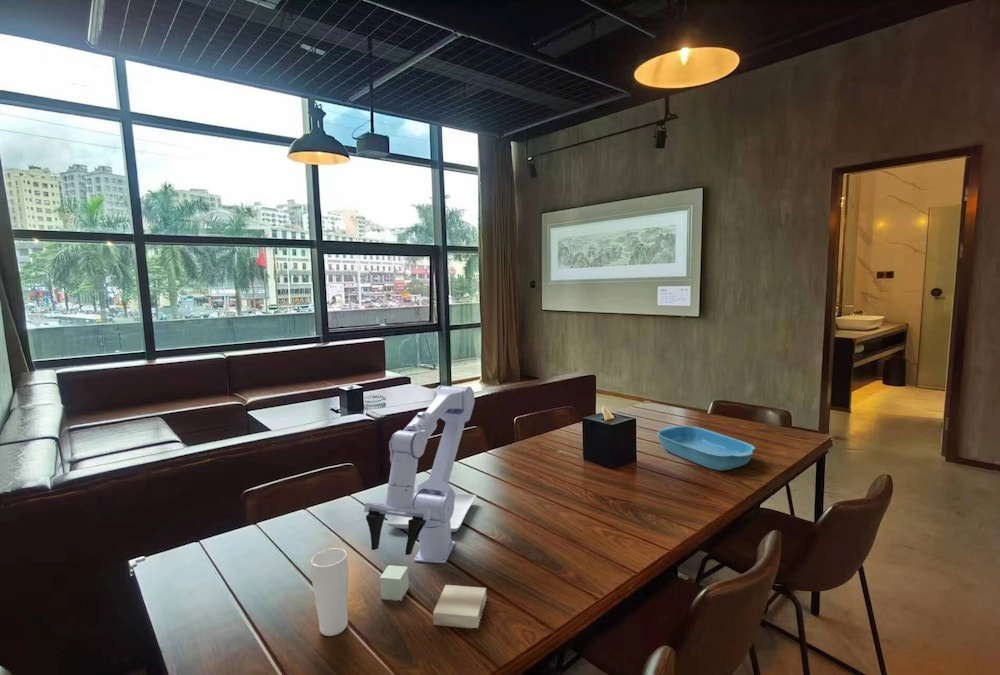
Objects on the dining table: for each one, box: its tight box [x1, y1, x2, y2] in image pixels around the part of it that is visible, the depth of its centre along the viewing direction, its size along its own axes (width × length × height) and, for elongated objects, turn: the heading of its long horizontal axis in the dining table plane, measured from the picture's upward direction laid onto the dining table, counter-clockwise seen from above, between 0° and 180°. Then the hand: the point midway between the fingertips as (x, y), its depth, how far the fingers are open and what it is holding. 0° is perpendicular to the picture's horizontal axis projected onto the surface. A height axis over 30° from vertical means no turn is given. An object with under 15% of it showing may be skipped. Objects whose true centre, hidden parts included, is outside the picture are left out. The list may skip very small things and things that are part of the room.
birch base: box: [432, 584, 488, 630], centre depth 99 cm, size 9×9×3 cm
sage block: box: [379, 564, 410, 602], centre depth 105 cm, size 5×5×5 cm
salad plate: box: [385, 489, 477, 533], centre depth 140 cm, size 21×21×3 cm
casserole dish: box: [657, 425, 756, 472], centre depth 182 cm, size 37×22×7 cm, turn 27°
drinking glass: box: [310, 547, 349, 637], centre depth 94 cm, size 7×7×15 cm
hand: (391, 551), depth 102 cm, fingers open, 7 cm apart
